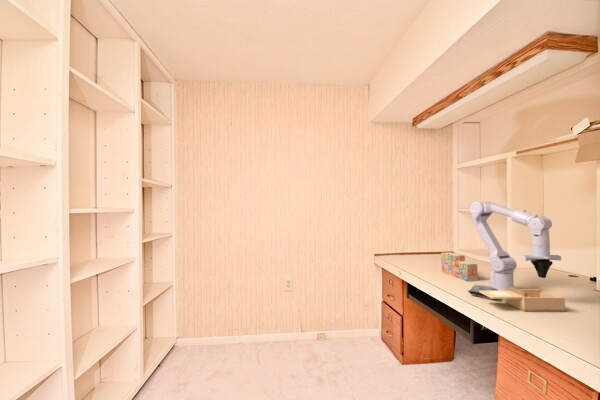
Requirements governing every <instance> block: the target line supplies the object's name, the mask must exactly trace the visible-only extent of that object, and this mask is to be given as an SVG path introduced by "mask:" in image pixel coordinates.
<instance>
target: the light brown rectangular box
mask: <svg viewBox="0 0 600 400" xmlns="http://www.w3.org/2000/svg"><path fill="white" fill-rule="evenodd" d="M518 289H519V290H522V291H524V292H527V295H528V296H530V297H522V299H503V302H504V303H506V304H508V305H510V306H512V307H514V308H515V309H518V310H519V311H522V312H525V313H526V312H527V313H528V312H529V313H531V312H532V313H534V312H535V313H542V312H543V313H545V312H547V313H550V312H552V313H553V312H554V313H555V312H557V313H559V312H560V313H562V312H563V313H565V312H566V298H565V297H564V296H562V297H561V296H557V297H556V296H554V295H552V294H548V293H545V292H543V290H542V289H541V288H518ZM503 290H510V289H503Z"/></svg>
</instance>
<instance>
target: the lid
mask: <svg viewBox="0 0 600 400" xmlns="http://www.w3.org/2000/svg"><path fill="white" fill-rule="evenodd" d="M519 289H520V288H516V287H515V286H514V287H510V290H490V291H479V292H480V293H482V294H484V295H486V296H488V297H490V298H492V299H491V300H504V299H522V297H530V296H528V295H527V292H524V291H522V290H519Z"/></svg>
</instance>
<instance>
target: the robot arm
mask: <svg viewBox="0 0 600 400" xmlns="http://www.w3.org/2000/svg"><path fill="white" fill-rule="evenodd" d="M469 211H470V213H471V218H472V223H473V225H474V227H475V229H476V230H477V232H478V234H479V235H480V238H481V239H482V242H483V243H484V245H485V246H486V248H487V250H488V252H489V256H488V260H489V261H490V267H491V269H492V270H491V272H490V274H489V281H490V285H489V286H490V287H493V288H496V289H497V290H503V289H510V287H514V288H515V284H514V283H515V278H514V271H515V269H516V268H517V262H516V260H515V259H514V258H513V257H511V255H510V254H509V253H508V252H507V251H505V250H504V249H503V248H502V246H501V245H500V242H499V240H498V239H497V238H496V236H495V234H494V232H493V230H492V229H491V227H490V225H489V223H488V222H487V221H488V219H489V218H490V217H491V215H492V214H493V213H497V214H499V215H501V216H502V215H503V216H505V217H509V218H511V220H512V222H515V223H516V224H520V225H522V226H525V227H527V228H529V230H530V234H531V235H530V236H531V238H530V239H531V254H527V255H526V254H525V255H521V260H522V261H525V262H526V261H527V262H528V261H530V263H531V264H532V265H533V267H534V268H535V271H536V273H537V276H538V277H539V278H542V279H546V278H547V275H548V271H549V270H550V268H551V266H552V265H553V263H554V262H553V261H561V260H562V256H561V255H558V254H551V245H550V229H551V228H552V225H553V222H552V220H551V219H550V218H548V217H546V216H538V214H537V213H534V214H533V213H530V212H527V210H525V209H516V210H513V209H511V208H508V207H506V206H504V205H503V206H502V205H500V204H497V203H496V202H491V201H475V202H472V204H471V206H470V207H469Z"/></svg>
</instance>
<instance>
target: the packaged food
mask: <svg viewBox="0 0 600 400" xmlns="http://www.w3.org/2000/svg"><path fill="white" fill-rule="evenodd" d="M490 290H497V289H496V288H493V287H490V285H483V284H473V286H472V287H471V288H470V289H468V290H467V293H469V294H470V295H472V296H474V297H479V298H483V299H489V300H493V299H492V298H490V297H488V296H486V295H484V294H482V293H480V292H479V291H490Z"/></svg>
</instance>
